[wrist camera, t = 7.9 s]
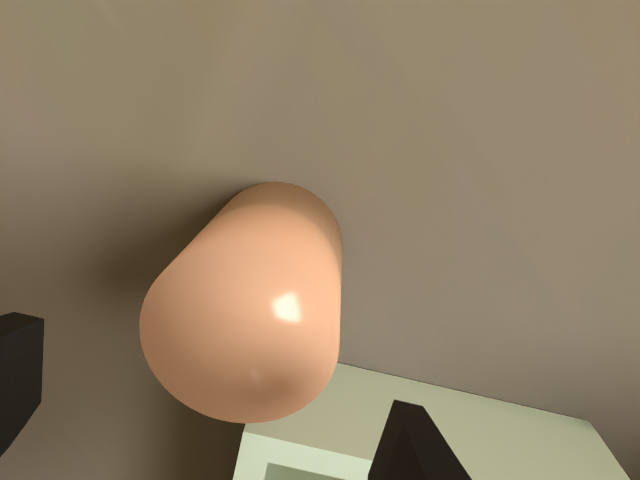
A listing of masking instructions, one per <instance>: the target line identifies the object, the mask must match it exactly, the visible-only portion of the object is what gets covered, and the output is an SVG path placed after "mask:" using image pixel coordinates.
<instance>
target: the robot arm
mask: <svg viewBox="0 0 640 480" xmlns="http://www.w3.org/2000/svg"><path fill="white" fill-rule="evenodd" d="M43 338H44V319H42V318H38V317H33V316H29V315H25V314H20V313H16V312H13V313H9V314H5V315H1V316H0V457H1V456H2V454H3V453H4V452H5V451H6V450H7V449H8V448H9V446H10V445H11V444H12V442H13V441H14V439H15V438H16V437H17V435H18V434H19V433H20V431H21V430H22V429H23V427H24V426H25V424H26V423H27V421H28V420H29V419H30V417H31V416H32V414H33V413H34V411H35V410H36V408H37V407H38V406H39V404H40V403H41V392H42V365H43ZM368 480H472V479H471V477H470V476H469V475H468V473H467V472H466V470H465V469H464V467H463V466H462V464H461V463H460V461H459V460H458V458H457V457H456V455H455V454H454V452H453V451H452V449H451V448H450V446H449V445H448V443H447V442H446V440H445V438H444V437H443V435H442V434H441V432H440V431H439V429H438V428H437V426H436V425H435V423H434V422H433V420H432V418H431V417H430V415H429V414H428V412H427V411H426V410H425V408H424V407H423V406H421V405H417V404H412V403H408V402H404V401H399V400H395V399H394V401H393V403H392V406H391V409H390V412H389V415H388V418H387V421H386V424H385V427H384V430H383V432H382V435H381V438H380V441H379V444H378V447H377V450H376V453H375V456H374V459H373V462H372V464H371V467H370V470H369V473H368Z"/></svg>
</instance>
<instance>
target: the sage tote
mask: <svg viewBox="0 0 640 480" xmlns="http://www.w3.org/2000/svg"><path fill="white" fill-rule="evenodd" d="M394 399H395V400H399V401H404V402H408V403H412V404H417V405H421V406H423V407H424V408H425V410H426V411H427V412H428V414H429V415H430V417H431V418H432V420H433V422H434V423H435V425H436V426H437V428H438V429H439V431H440V432H441V434H442V435H443V437H444V438H445V440H446V442H447V443H448V445H449V446H450V448H451V449H452V451H453V452H454V454H455V455H456V457H457V458H458V460H459V461H460V463H461V464H462V466H463V467H464V469H465V470H466V472H467V473H468V475H469V476H470V477H471V479H472V480H630V479H629V477H628V476H627V474H626V473H625V471H624V470H623V469H622V467H621V466H620V464H619V463H618V461H617V460H616V459H615V457H614V456H613V454H612V453H611V451H610V450H609V449H608V447H607V446H606V444H605V443H604V441H603V440H602V439H601V437H600V436H599V434H598V433H597V431H596V430H595V428H594V427H593V426H592V424H591V423H590V421H586V420H582V419H578V418H574V417H569V416H565V415H561V414H556V413H552V412H548V411H543V410H539V409H535V408H530V407H526V406H522V405H517V404H513V403H509V402H505V401H500V400H496V399H492V398H487V397H483V396H479V395H474V394H470V393H466V392H461V391H457V390H453V389H448V388H444V387H440V386H435V385H431V384H427V383H423V382H418V381H414V380H410V379H405V378H401V377H397V376H392V375H388V374H384V373H379V372H375V371H371V370H366V369H362V368H358V367H353V366H349V365H345V364H341V363H336V366H335V369H334V372H333V374H332V376H331V378H330V380H329V382H328V383H327V385H326V386H325V388H324V389H323V390H322V391H321V393H320V394H319V395H318V396H317V397H316V398H315V399H314V400H313V401H312V402H310V403H309V404H308V405H306V406H305V407H304V408H302V409H300V410H298V411H297V412H295V413H293V414H291V415H288V416H286V417H283V418H280V419H277V420H273V421H268V422H262V423H246V424H245V428H244V431H243V435H242V440H241V445H240V449H239V454H238V458H237V463H236V467H235V472H234V476H233V480H341V479H344V480H368V473H369V470H370V467H371V464H372V462H373V459H374V456H375V453H376V450H377V447H378V444H379V441H380V438H381V435H382V432H383V430H384V427H385V424H386V421H387V418H388V415H389V412H390V409H391V406H392V403H393V401H394Z"/></svg>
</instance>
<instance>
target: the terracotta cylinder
mask: <svg viewBox="0 0 640 480" xmlns="http://www.w3.org/2000/svg"><path fill="white" fill-rule="evenodd" d="M341 273H342V236H341V231H340V228H339V225H338V222H337V220H336V218H335V216H334V215H333V213H332V212H331V210H330V209H329V207H328V206H327V205H326V204H325V203H324V202H323V201H322V200H321V199H320V198H318V197H317V196H316V195H315V194H313V193H311V192H310V191H308V190H306V189H304V188H302V187H300V186H296V185H293V184H289V183H283V182H268V183H262V184H257V185H254V186H251V187H249V188H247V189H245V190H243V191H241V192H240V193H238V194H237V195H236V196H234V197H233V198H232V199H231V200H230V201H229V202H228V203H227V204H226V205H225V206H224V207H223V208H222V209H221V211H220V212H219V213H218V214H217V215H216V216H215V217H214V218H213V219H212V220H211V221H210V222H209V223H208V224H207V225H206V226H205V227H204V229H203V230H202V231H201V232H200V233H199V234H198V235H197V236H196V237H195V238H194V239H193V240H192V241H191V242H190V243H189V244H188V245H187V247H186V248H185V249H184V250H183V251H182V252H181V253H180V254H179V255H178V256H177V257H176V258H175V259H174V260H173V261H172V262H171V263H170V265H169V266H168V267H167V268H166V269H165V270H164V271H163V272H162V273H161V274H160V275H159V276H158V277H157V279H156V280H155V281H154V283H153V284H152V285H151V287H150V289H149V291H148V293H147V294H146V296H145V299H144V302H143V305H142V308H141V313H140V321H139V333H140V342H141V345H142V349H143V353H144V355H145V358H146V360H147V363H148V365H149V367H150V368H151V370H152V372H153V374H154V375H155V376H156V378H157V379H158V380H159V382H160V383H161V384H162V385H163V386H164V387H165V388H166V390H167V391H168V392H169V393H171V394H172V395H173V396H174V397H175V398H176V399H178V400H179V401H180V402H182V403H183V404H185V405H186V406H188V407H190V408H192V409H193V410H195V411H197V412H199V413H201V414H204V415H206V416H209V417H212V418H215V419H219V420H222V421H228V422H234V423H262V422H268V421H273V420H277V419H280V418H283V417H286V416H288V415H291V414H293V413H295V412H297V411H298V410H300V409H302V408H304V407H305V406H306V405H308V404H309V403H310V402H312V401H313V400H314V399H315V398H316V397H317V396H318V395H319V394H320V393H321V391H322V390H323V389H324V388H325V386H326V385H327V383H328V382H329V380H330V378H331V376H332V374H333V372H334V369H335V366H336V363H337V359H338V354H339V336H340V304H341Z"/></svg>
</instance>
